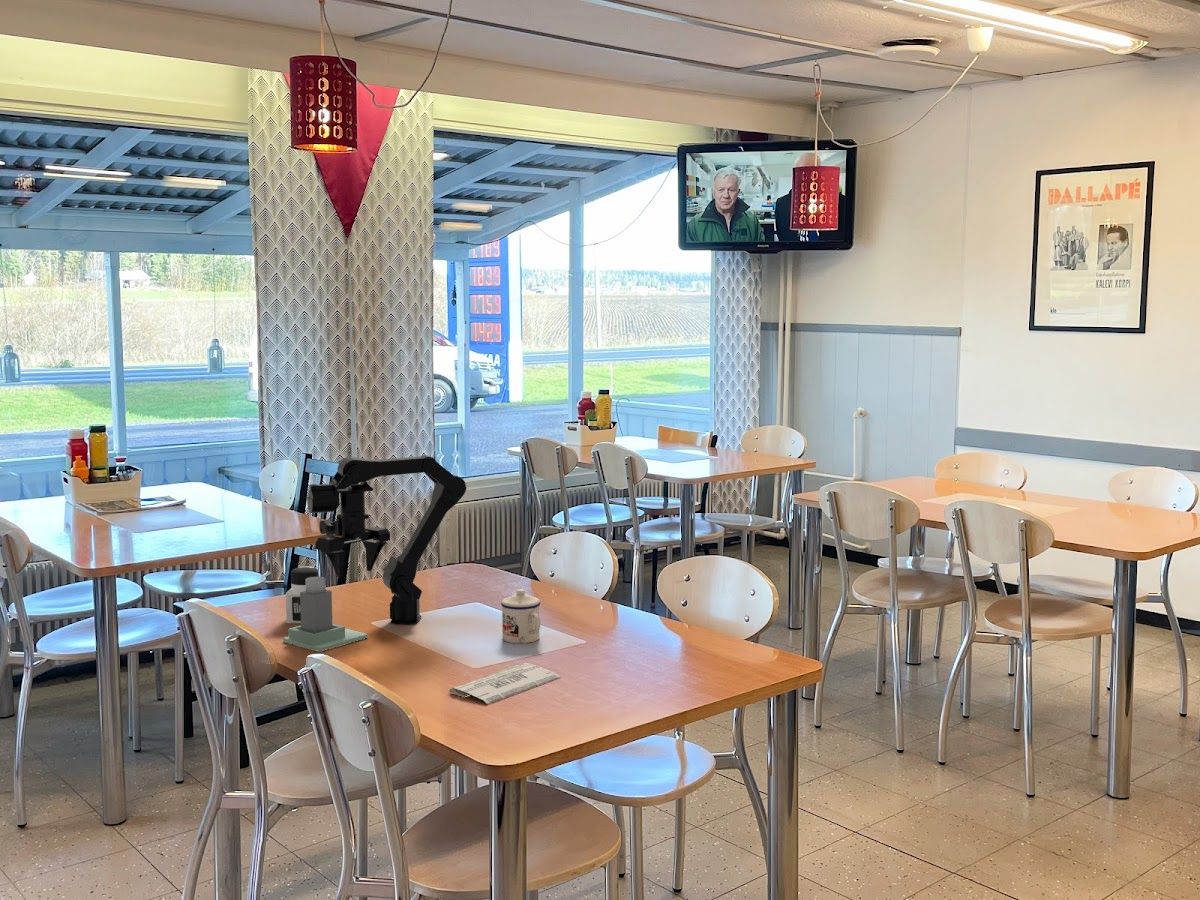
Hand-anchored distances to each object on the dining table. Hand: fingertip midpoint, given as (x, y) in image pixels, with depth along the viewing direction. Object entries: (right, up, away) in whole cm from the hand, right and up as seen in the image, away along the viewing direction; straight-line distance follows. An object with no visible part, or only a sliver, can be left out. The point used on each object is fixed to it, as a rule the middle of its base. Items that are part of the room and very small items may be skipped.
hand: (354, 574), depth 279 cm
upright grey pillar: (-6, -14, -12) cm, 19 cm away
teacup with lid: (+42, -15, -9) cm, 45 cm away
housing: (-5, -14, -10) cm, 18 cm away
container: (-14, -12, +8) cm, 20 cm away
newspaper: (+39, -19, -41) cm, 60 cm away
